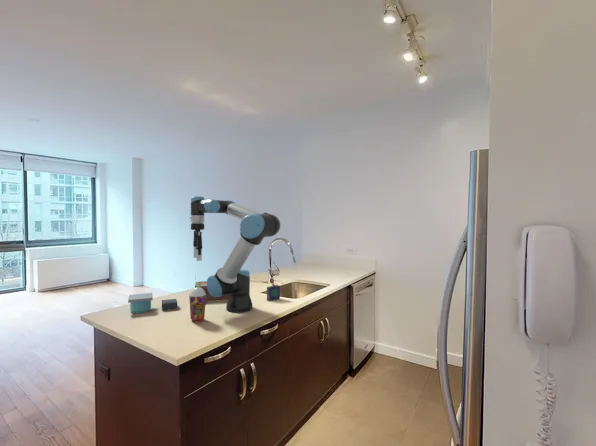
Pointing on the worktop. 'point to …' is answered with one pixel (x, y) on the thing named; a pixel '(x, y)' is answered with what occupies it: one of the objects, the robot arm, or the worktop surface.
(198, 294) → the smoothie
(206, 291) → the tissue box cover
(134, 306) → the bowl
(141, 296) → the grey flat square slab
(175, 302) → the dark grey square block
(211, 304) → the worktop surface
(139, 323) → the worktop surface
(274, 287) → the blue box
